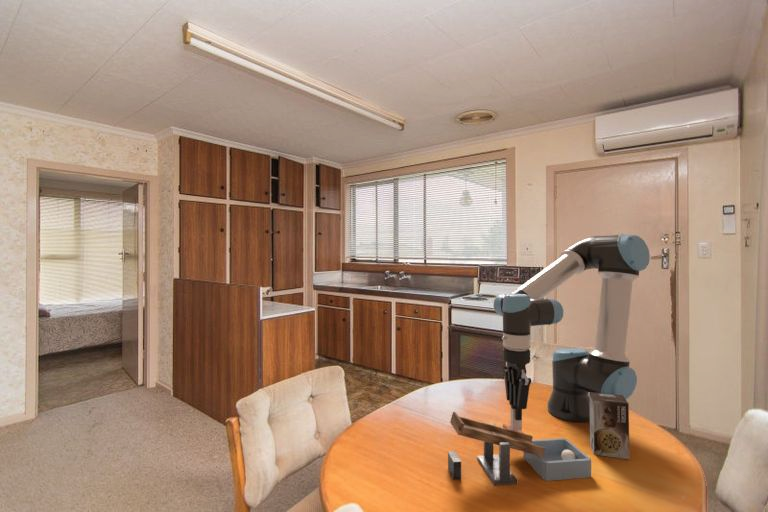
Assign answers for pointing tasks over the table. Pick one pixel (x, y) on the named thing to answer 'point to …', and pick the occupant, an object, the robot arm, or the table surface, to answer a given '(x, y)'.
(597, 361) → the robot arm
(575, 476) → the dish
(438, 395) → the table surface
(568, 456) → the ball
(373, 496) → the table surface
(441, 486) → the table surface
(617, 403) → the coffee box
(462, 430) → the lever
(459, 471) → the fulcrum
